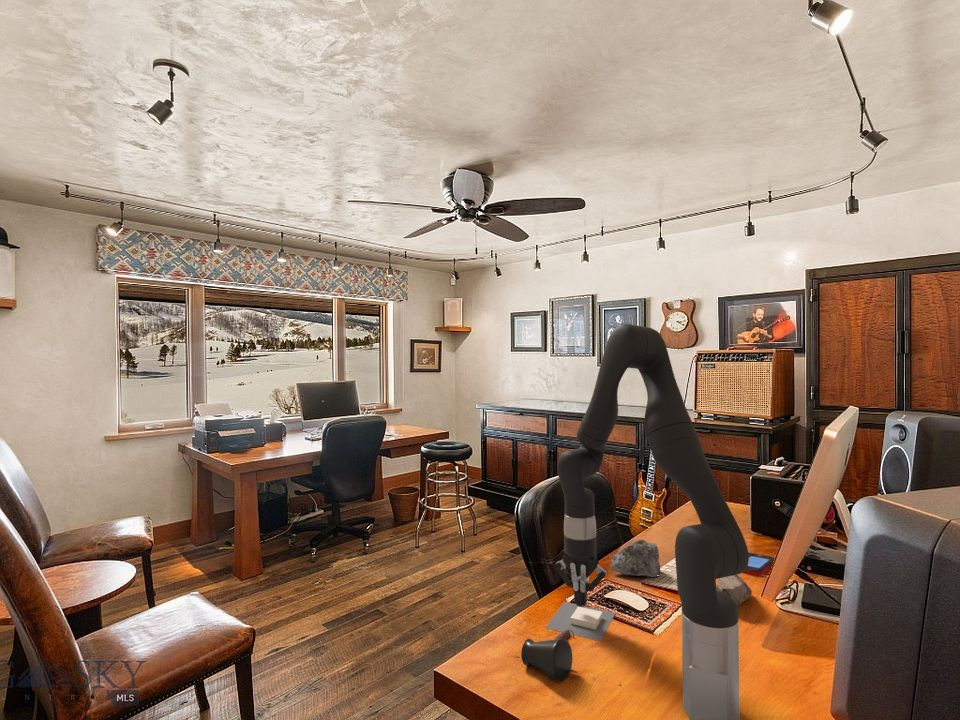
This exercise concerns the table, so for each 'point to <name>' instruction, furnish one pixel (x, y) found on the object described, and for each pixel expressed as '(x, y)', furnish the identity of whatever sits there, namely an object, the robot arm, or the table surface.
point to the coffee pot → (550, 656)
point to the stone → (734, 588)
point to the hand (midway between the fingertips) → (581, 605)
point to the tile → (586, 618)
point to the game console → (758, 564)
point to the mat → (563, 623)
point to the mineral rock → (637, 559)
